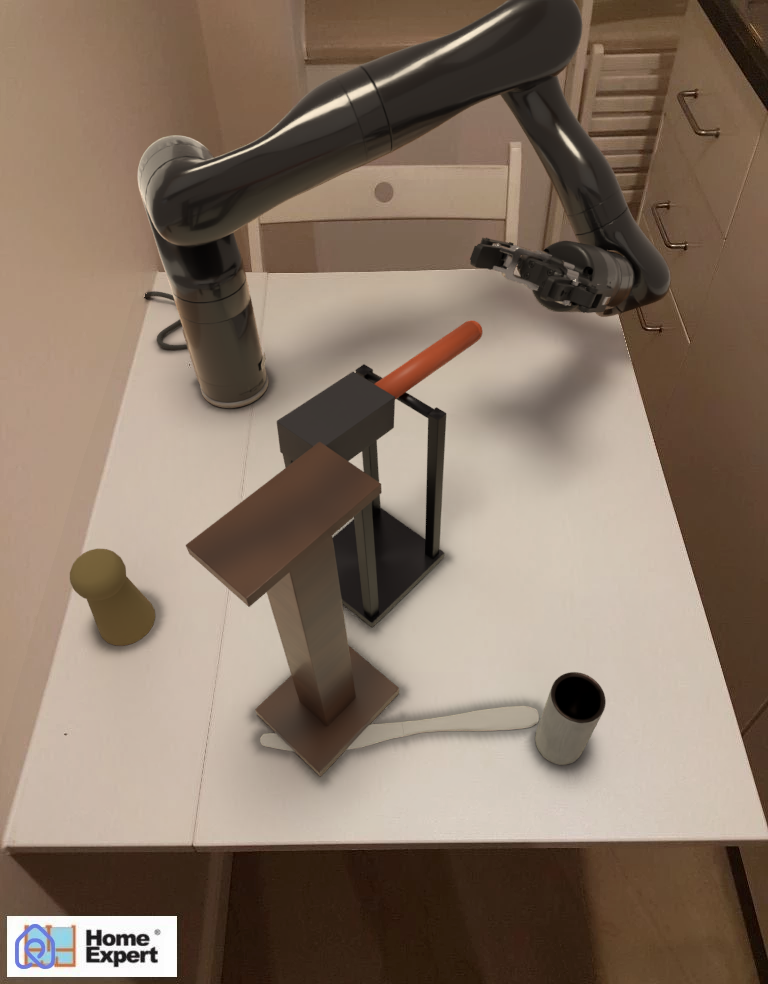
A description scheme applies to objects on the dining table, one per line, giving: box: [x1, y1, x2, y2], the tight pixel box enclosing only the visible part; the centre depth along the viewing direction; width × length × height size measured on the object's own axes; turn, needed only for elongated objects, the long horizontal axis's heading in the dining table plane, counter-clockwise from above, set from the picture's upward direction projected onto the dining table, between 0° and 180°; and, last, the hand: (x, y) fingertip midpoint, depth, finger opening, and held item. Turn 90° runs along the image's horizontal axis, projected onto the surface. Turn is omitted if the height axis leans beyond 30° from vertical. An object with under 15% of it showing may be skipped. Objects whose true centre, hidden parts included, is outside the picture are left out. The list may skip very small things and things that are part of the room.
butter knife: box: [259, 705, 540, 753], centre depth 69 cm, size 1×27×3 cm
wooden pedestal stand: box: [185, 442, 400, 777], centre depth 59 cm, size 9×12×31 cm
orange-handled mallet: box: [276, 320, 484, 462], centre depth 65 cm, size 5×24×4 cm, turn 137°
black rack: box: [276, 363, 447, 628], centre depth 73 cm, size 11×12×23 cm
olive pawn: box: [69, 548, 156, 647], centre depth 74 cm, size 6×6×11 cm
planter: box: [534, 671, 607, 766], centre depth 64 cm, size 4×4×10 cm
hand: (510, 271), depth 70 cm, fingers open, 8 cm apart
